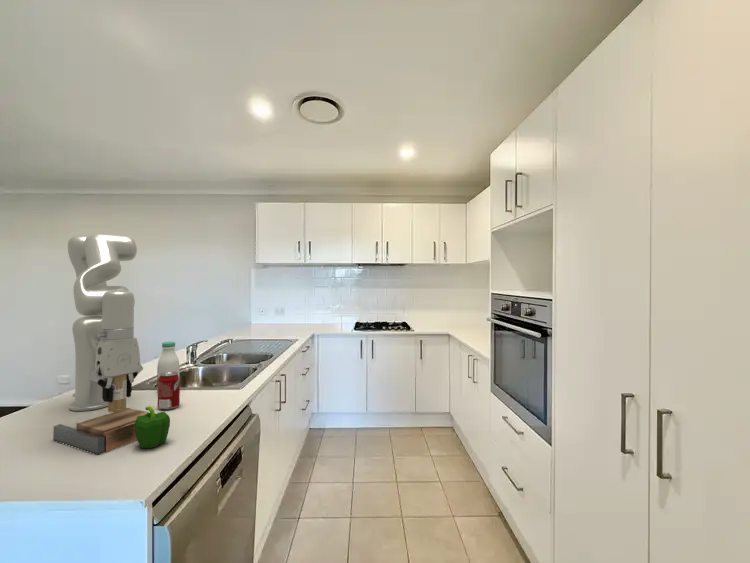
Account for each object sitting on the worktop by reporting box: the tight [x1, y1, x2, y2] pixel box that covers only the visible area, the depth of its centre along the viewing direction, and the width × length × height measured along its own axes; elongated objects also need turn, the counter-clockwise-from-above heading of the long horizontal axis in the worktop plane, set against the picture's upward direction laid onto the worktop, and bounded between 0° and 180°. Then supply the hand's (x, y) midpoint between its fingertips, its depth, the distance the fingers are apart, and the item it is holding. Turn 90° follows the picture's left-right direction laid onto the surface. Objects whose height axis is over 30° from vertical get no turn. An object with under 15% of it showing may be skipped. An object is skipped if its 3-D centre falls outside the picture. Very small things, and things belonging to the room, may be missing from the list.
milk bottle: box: [156, 341, 180, 394], centre depth 148 cm, size 8×8×20 cm
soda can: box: [157, 372, 181, 411], centre depth 131 cm, size 7×7×12 cm
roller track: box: [52, 407, 137, 456], centre depth 107 cm, size 20×18×5 cm
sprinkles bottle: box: [107, 374, 128, 413], centre depth 106 cm, size 5×5×14 cm
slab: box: [76, 407, 148, 437], centre depth 106 cm, size 12×14×2 cm
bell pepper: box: [134, 405, 171, 449], centre depth 102 cm, size 8×8×10 cm
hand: (117, 398), depth 106 cm, fingers closed on sprinkles bottle, 4 cm apart
